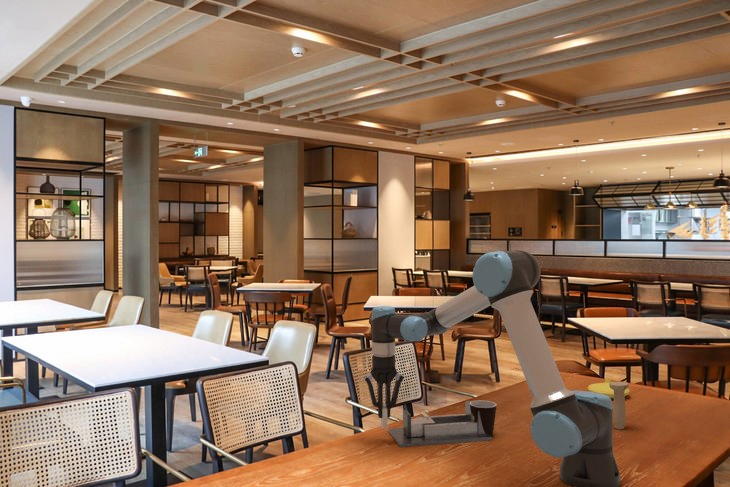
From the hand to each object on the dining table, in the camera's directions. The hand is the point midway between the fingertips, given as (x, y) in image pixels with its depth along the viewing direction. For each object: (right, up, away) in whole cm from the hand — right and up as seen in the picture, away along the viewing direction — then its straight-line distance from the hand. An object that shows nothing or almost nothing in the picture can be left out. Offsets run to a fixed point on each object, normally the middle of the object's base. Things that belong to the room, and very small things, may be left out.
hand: (384, 427), depth 199 cm
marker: (+15, -2, +10) cm, 18 cm away
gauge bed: (+18, -4, +3) cm, 18 cm away
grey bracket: (+11, -2, +4) cm, 12 cm away
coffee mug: (+33, -3, +5) cm, 33 cm away
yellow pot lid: (+92, -2, +49) cm, 104 cm away
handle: (+79, -3, +8) cm, 80 cm away
